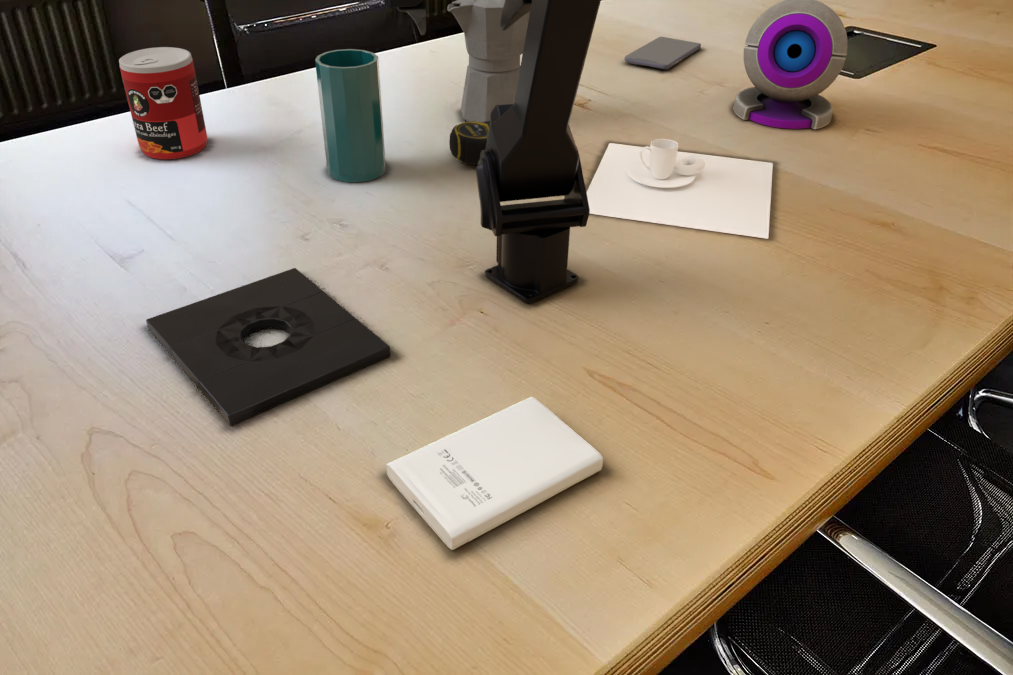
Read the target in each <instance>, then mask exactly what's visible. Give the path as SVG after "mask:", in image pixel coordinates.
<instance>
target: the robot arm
mask: <svg viewBox="0 0 1013 675" xmlns="http://www.w3.org/2000/svg"><path fill="white" fill-rule="evenodd" d="M601 1H602V0H505V3H504V6H503V10H502V14H501V22H500V24H501V29H502V31H504V30H507V29H508V28H509V27H510V26H511V25H513V24H514V23H515V22H516V21H517V20H519V19H520V18H521V17H523V16H524V15H525V14H527V13H528V12H530V15H529V21H528V27H527V32H526V38H525V43H524V49H523V54H521V59H520V71H519V77H518V83H517V88H516V94H515V100H514V104H505V105H496V106H495V107H494V109H493V110H492V112H491V115H490V126H489V131H488V134H487V143H486V148H485V150H482V151H481V153H480V160H479V162H478V165H477V166H476V167H475V176H476V184H477V185H476V186H477V190H478V199H479V206H480V208H479V209H480V226H481V228H483V229H487V230H489V231H491V232H492V233H493V235H494V237H496V263H497V265H494V266H492V267H489V268H487V269H485V271H484V276H485V278H487V279H489V280H490V281H491V282H493V283H495V284H496V285H497V286H499V287H501V288H502V289H503V290H505V291H506V292H509V293H510V294H512V295H513V296H514V297H516V298H518V299H519V300H521V301H522V302H524V303H526V304H531V303H534V302H537V301H540V300H541V299H543V298H546V297H549V296H550V295H553V294H555V293H557V292H560V291H561V290H563V289H566V288H568V287H570V286H573V285H575V284H577V283H578V282H579V280H580V278H579V275H578V274H576V273H574V272H572V271H571V270H570V269H568V264H569V250H570V249H569V248H570V235H571V233H570V232H571V228H575V227H576V228H578V227H579V228H585V227H587V224H588V220H589V217H590V214H589V213H590V209H589V204H588V198H587V193H586V192H587V188H586V184H585V178H584V173H583V168H582V167H583V166H582V163H581V157H580V153H579V149H578V146H577V144H576V141H575V139H574V136H573V133H572V130H571V127H570V120H571V116H572V113H573V108H574V106H575V105H574V104H575V102H576V98H577V94H578V89H579V86H580V83H581V78H582V74H583V70H584V67H585V63H586V59H587V56H588V52H589V47H590V43H591V40H592V35H593V33H594V29H595V25H596V21H597V16H598V13H599V9H600V5H601ZM383 4H384V5H386V6H387V7H388V8H391V9H393V8H396V9H397V10H398V11H399V12H403V13H405V12H407V13H408V15H409V16H410V17H411V19H412V20H413V21H414V23H415V24H416V27H417V29H418V31H419V34H420V35H421V36H425V34H426V32H427V6H426V2H425V0H383ZM554 197H563V198H562V199H551V200H542V201H541V200H540V201H531V202H522V203H512V204H511V203H510V204H503V205H501V203H504V202H514V201H524V200H533V199H544V198H545V199H546V198H554Z"/></svg>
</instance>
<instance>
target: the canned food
mask: <svg viewBox="0 0 1013 675" xmlns="http://www.w3.org/2000/svg"><path fill="white" fill-rule="evenodd" d="M118 63H119V69H120V74H121V79H122V83H123V87H124V92H125V96H126V100H127V103H128V107H129V111H130V115H131V119H132V124H133V127H134V132H135V136H136V140H137V143H138V144H137V145H138V147H139V148H140V150H141V152H142V154H143V155H145V156H146V157H148V158H151V159H154V160H177V159H182V158H187V157H190V156H193V155H196V154H198V153H199V152H201V151H203V149H205V148H206V147H207V143H208V132H207V128H206V123H205V117H204V112H203V107H202V102H201V95H200V90H199V85H198V80H197V75H196V70H195V66H194V60H193V56H192V53H191V52H190V51H189V50H188V49H184V48H180V47H174V46H173V47H171V46H170V47H169V46H159V47H148V48H142V49H138V50H134V51H131V52H128V53H126V54H124V55H122V56H121V57H120V58H119V59H118Z"/></svg>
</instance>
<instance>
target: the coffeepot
mask: <svg viewBox="0 0 1013 675" xmlns="http://www.w3.org/2000/svg"><path fill="white" fill-rule="evenodd" d="M504 3H505V0H455V1H452V2H451V3H449V4H448V5H447V11H448V12H450V13H451V14H452V15H453V17H454V18H455V20H456V21H457V23H458V25H459V26H460V28H461V30H462V32H463V35H464V41H465V49H466V52H467V54H468V65H467V68H466V71H465V72H466V73H465V78H464V86H463V93H462V99H461V105H460V111H461V117H462V119H463V120H464V121H465V122H485V121H490V115H491V112H492V110H493V109H494V107H495V106H496V105H505V104H514V100H515V94H516V88H517V83H518V77H519V71H520V66H521V56H522V55H523V49H524V43H525V38H526V32H527V27H528V21H529V15H530V12H528V13H527V14H525V15H524V16H523V17H521V18H520V19H519V20H517V21H516V22H515V23H514V24H513V25H511V26H510V27H509V28H508V29H507V30H504V31H502V29H501V24H500V22H501V14H502V10H503V6H504Z"/></svg>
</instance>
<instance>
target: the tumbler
mask: <svg viewBox="0 0 1013 675" xmlns="http://www.w3.org/2000/svg"><path fill="white" fill-rule="evenodd" d="M379 60H380V59H379V56H378V55H377V54H376V53H375V52H372V51H369V50H365V49H358V48H357V49H355V48H346V49H345V48H344V49H334V50H329V51H325V52H323V53H321V54H319V55H316V58H315V60H314V63H315V64H314V65H315V72H316V81H317V90H318V100H319V107H320V117H321V118H320V119H321V127H322V135H323V136H322V138H323V145H324V153H325V162H326V163H325V164H326V168H327V173H328V175H329V176H330V177H331V178H332V179H334V180H337V181H339V182H343V183H364V182H369V181H373V180H376V179H378V178H380V177H382V176H383V175H384V174H385V173H386V150H385V135H384V120H383V109H382V107H383V106H382V104H383V103H382V91H381V90H382V89H381V78H380V77H381V76H380V61H379Z"/></svg>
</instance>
